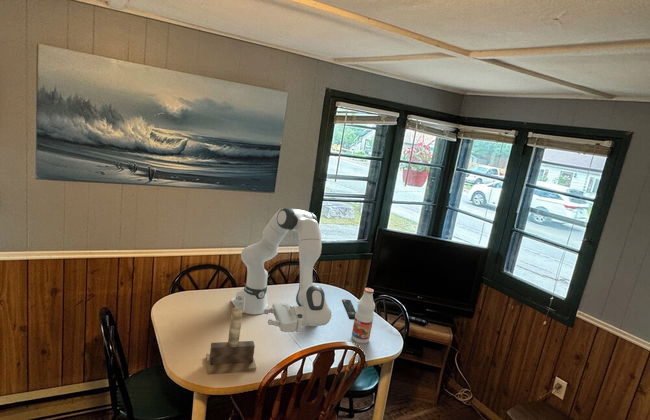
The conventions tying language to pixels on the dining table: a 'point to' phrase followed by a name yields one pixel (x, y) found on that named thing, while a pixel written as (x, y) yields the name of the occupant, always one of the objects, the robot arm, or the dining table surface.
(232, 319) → the maple dowel
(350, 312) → the remote control
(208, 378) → the dining table surface
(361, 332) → the fruit juice
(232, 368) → the fulcrum ridge
